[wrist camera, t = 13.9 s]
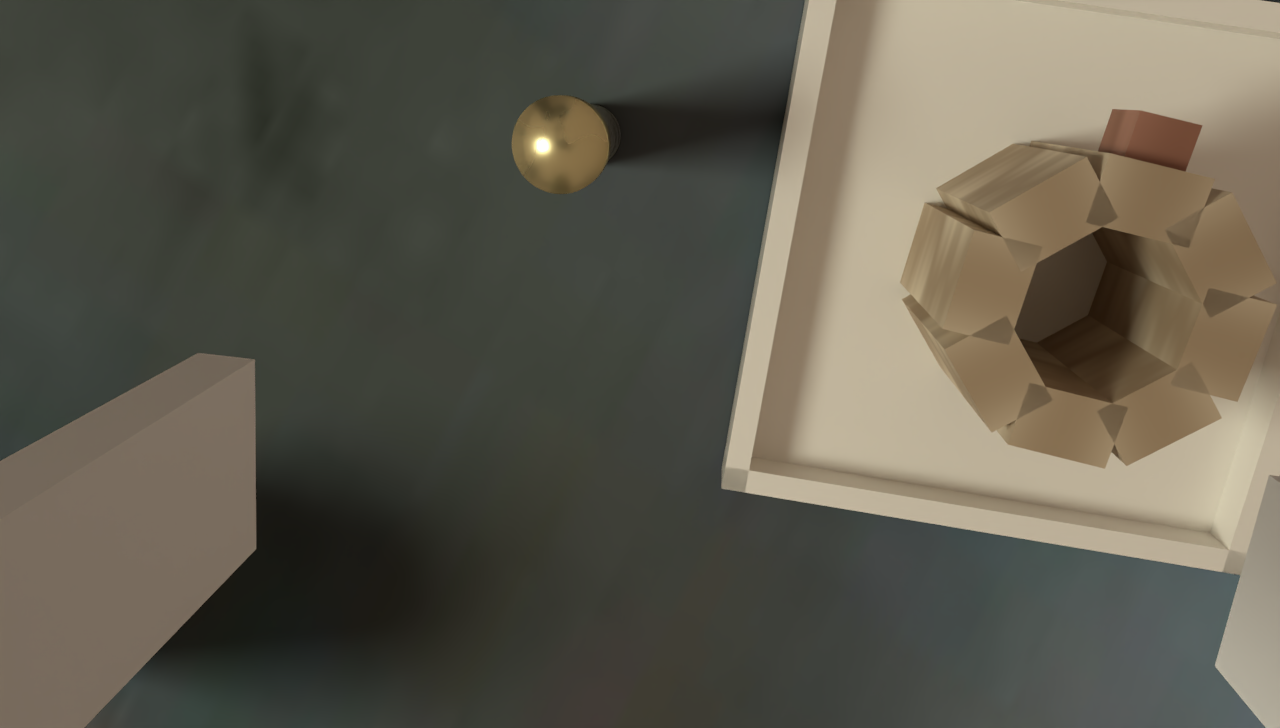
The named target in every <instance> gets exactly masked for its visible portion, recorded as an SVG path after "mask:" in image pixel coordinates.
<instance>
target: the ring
mask: <svg viewBox="0 0 1280 728" xmlns="http://www.w3.org/2000/svg"><path fill="white" fill-rule="evenodd" d="M1202 126H1203V125H1199V124H1195V123H1191V122H1187V121H1182V120H1178V119H1174V118H1170V117H1166V116H1162V115H1158V114H1154V113H1150V112H1145V111H1141V110H1121V109H1112V112H1111V115H1110V118H1109V121H1108V124H1107V126H1106V129H1105V132H1104V135H1103V138H1102V141H1101V144H1100V147H1099V149H1098V151H1093V150H1087V149H1080V148H1074V147H1068V146H1061V145H1055V144H1049V143H1042V142H1036V141H1031V143H1030V146H1023V145H1018V144H1011V145H1010V146H1008V147H1006V148H1005V149H1003V150H1001V151H999V152H998V153H996V154H994V155H993V156H991V157H989V158H987V159H986V160H984V161H982V162H980V163H979V164H977V165H975V166H974V167H972V168H970V169H968V170H967V171H965V172H963V173H962V174H960V175H958V176H956V177H955V178H953V179H951V180H949V181H948V182H946V183H944V184H943V185H941V186H939V187H937V188H936V189H937V191H938V193H939V195H940V197H941V198H942V200H943V202H944V204H945V206H946V207H947V208H944V207H940V206H936V205H932V204H928V203H924V206H923V209H922V212H921V216H920V219H919V222H918V225H917V229H916V232H915V235H914V238H913V242H912V245H911V248H910V251H909V255H908V258H907V261H906V264H905V268H904V271H903V274H902V277H901V281H900V283H901V284H902V285H903V286H904V287H905V289H906V290H907V291H908V292H909V293H910V295H908V296H907V297H905V298H903V299H902V301H903V302H904V304H905V306H906V308H907V310H908V311H909V313H910V315H911V317H912V318H913V320H914V322H915V324H916V325H917V327H918V329H919V331H920V332H921V334H922V336H923V338H924V339H925V341H926V343H927V345H928V346H929V348H930V350H931V352H932V353H933V355H934V357H935V359H936V361H937V362H938V364H939V366H940V367H941V369H942V370H943V371H944V373H945V374H946V375H947V376H948V378H949V379H950V380H951V381H952V383H953V384H954V385H955V387H956V388H957V389H958V390H959V392H960V393H961V394H962V395H963V397H964V398H965V399H966V401H967V402H968V403H969V404H970V406H971V407H972V408H973V410H974V411H975V412H976V413H977V415H978V416H979V417H980V418H981V420H982V421H983V422H984V424H985V425H986V426H987V427H988V429H989V430H990V431H991V432H994V431H996V430H997V432H998V433H999V434H1000V435H1001V437H1002V438H1003V439H1004V440H1005V442H1006V443H1007V444H1008V445H1011V446H1015V447H1019V448H1023V449H1027V450H1031V451H1035V452H1039V453H1043V454H1048V455H1052V456H1056V457H1060V458H1064V459H1068V460H1072V461H1076V462H1080V463H1084V464H1088V465H1092V466H1096V467H1100V468H1104V469H1105V467H1106V465H1107V462H1108V459H1109V457H1110V454H1111V452H1112V453H1113V454H1114V455H1115V456H1116V457H1117V458H1118V459H1119V460H1120V461H1122V462H1123V463H1124V464H1125V465H1126V466H1128V465H1130V464H1132V463H1134V462H1136V461H1138V460H1140V459H1142V458H1144V457H1146V456H1148V455H1150V454H1152V453H1154V452H1156V451H1158V450H1160V449H1162V448H1164V447H1166V446H1168V445H1170V444H1172V443H1174V442H1176V441H1178V440H1180V439H1182V438H1184V437H1186V436H1188V435H1190V434H1192V433H1194V432H1196V431H1198V430H1200V429H1202V428H1204V427H1206V426H1208V425H1210V424H1212V423H1214V422H1216V421H1218V420H1219V419H1221V418H1222V417H1221V415H1220V413H1219V411H1218V409H1217V407H1216V405H1215V404H1214V402H1213V400H1212V398H1211V396H1210V395H1212V396H1216V397H1220V398H1224V399H1228V400H1232V401H1236V402H1238V400H1239V397H1240V395H1241V392H1242V390H1243V387H1244V385H1245V383H1246V380H1247V378H1248V375H1249V373H1250V370H1251V368H1252V365H1253V363H1254V361H1255V358H1256V356H1257V353H1258V351H1259V348H1260V346H1261V343H1262V341H1263V339H1264V336H1265V334H1266V331H1267V329H1268V326H1269V324H1270V321H1271V319H1272V317H1273V314H1274V312H1275V309H1276V307H1277V304H1274V303H1272V302H1269V301H1267V300H1264V299H1261V298H1259V297H1256V296H1254V295H1255V294H1257V293H1259V292H1261V291H1263V290H1265V289H1267V288H1269V287H1271V286H1273V285H1274V284H1276V283H1277V282H1276V280H1275V278H1274V276H1273V274H1272V272H1271V270H1270V268H1269V266H1268V264H1267V262H1266V260H1265V258H1264V256H1263V254H1262V252H1261V250H1260V248H1259V246H1258V244H1257V241H1256V239H1255V237H1254V235H1253V233H1252V231H1251V229H1250V227H1249V225H1248V223H1247V221H1246V219H1245V217H1244V215H1243V213H1242V211H1241V209H1240V207H1239V205H1238V203H1237V201H1236V199H1235V197H1234V195H1233V193H1232V192H1228V191H1223V190H1218V189H1213V188H1212V186H1213V183H1214V181H1215V179H1214V178H1210V177H1205V176H1201V175H1197V174H1193V173H1189V172H1186V169H1187V166H1188V163H1189V161H1190V158H1191V155H1192V153H1193V150H1194V147H1195V145H1196V142H1197V139H1198V137H1199V134H1200V131H1201V128H1202ZM1091 233H1092V234H1093V236H1094V238H1095V240H1096V241H1097V243H1098V245H1099V247H1100V249H1101V251H1102V253H1103V255H1104V257H1105V259H1106V261H1107V263H1106V266H1105V269H1104V272H1103V275H1102V277H1101V280H1100V283H1099V286H1098V288H1097V291H1096V294H1095V297H1094V299H1093V302H1092V305H1091V308H1090V311H1089V313H1088V315H1087V316H1085V317H1084V318H1082V319H1080V320H1078V321H1076V322H1074V323H1072V324H1070V325H1069V326H1067V327H1065V328H1063V329H1061V330H1059V331H1057V332H1056V333H1054V334H1052V335H1050V336H1048V337H1046V338H1044V339H1043V340H1041V341H1039V342H1037V343H1036V342H1032V341H1028V340H1024V339H1020V338H1018V336H1017V334H1016V332H1015V330H1014V328H1015V326H1016V323H1017V320H1018V317H1019V314H1020V311H1021V308H1022V305H1023V302H1024V299H1025V296H1026V293H1027V290H1028V287H1029V285H1030V282H1031V279H1032V276H1033V273H1034V270H1035V267H1036V264H1037V263H1038V262H1040V261H1042V260H1044V259H1045V258H1047V257H1049V256H1051V255H1053V254H1054V253H1056V252H1058V251H1060V250H1062V249H1063V248H1065V247H1067V246H1069V245H1071V244H1072V243H1074V242H1076V241H1078V240H1080V239H1081V238H1083V237H1085V236H1087V235H1089V234H1091Z"/></svg>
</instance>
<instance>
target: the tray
mask: <svg viewBox="0 0 1280 728" xmlns="http://www.w3.org/2000/svg"><path fill="white" fill-rule="evenodd" d="M1112 109H1121V110H1141V111H1145V112H1150V113H1154V114H1158V115H1162V116H1166V117H1170V118H1174V119H1178V120H1182V121H1187V122H1191V123H1195V124H1199V125H1203V126H1202V128H1201V131H1200V134H1199V137H1198V139H1197V142H1196V145H1195V147H1194V150H1193V153H1192V155H1191V158H1190V161H1189V163H1188V166H1187V169H1186V172H1189V173H1193V174H1197V175H1201V176H1205V177H1210V178H1214V179H1215V181H1214V183H1213V186H1212V188H1213V189H1218V190H1223V191H1228V192H1232V193H1233V195H1234V197H1235V199H1236V201H1237V203H1238V205H1239V207H1240V209H1241V211H1242V213H1243V215H1244V217H1245V219H1246V221H1247V223H1248V225H1249V227H1250V229H1251V231H1252V233H1253V235H1254V237H1255V239H1256V241H1257V244H1258V246H1259V248H1260V250H1261V252H1262V254H1263V256H1264V258H1265V260H1266V262H1267V264H1268V266H1269V268H1270V270H1271V272H1272V274H1273V276H1274V278H1275V280H1276V282H1277V283H1276V284H1274V285H1273V286H1271V287H1269V288H1267V289H1265V290H1263V291H1261V292H1259V293H1257V294H1255V295H1254V296H1256V297H1259V298H1261V299H1264V300H1267V301H1269V302H1272V303H1274V304H1277V307H1276V309H1275V312H1274V314H1273V317H1272V319H1271V321H1270V324H1269V326H1268V329H1267V331H1266V334H1265V336H1264V339H1263V341H1262V343H1261V346H1260V348H1259V351H1258V353H1257V356H1256V358H1255V361H1254V363H1253V365H1252V368H1251V370H1250V373H1249V375H1248V378H1247V380H1246V383H1245V385H1244V387H1243V390H1242V392H1241V395H1240V397H1239V400H1238V402H1236V401H1232V400H1228V399H1224V398H1220V397H1216V396H1212V395H1210V396H1211V398H1212V400H1213V402H1214V404H1215V405H1216V407H1217V409H1218V411H1219V413H1220V415H1221V417H1222V418H1221V419H1219V420H1218V421H1216V422H1214V423H1212V424H1210V425H1208V426H1206V427H1204V428H1202V429H1200V430H1198V431H1196V432H1194V433H1192V434H1190V435H1188V436H1186V437H1184V438H1182V439H1180V440H1178V441H1176V442H1174V443H1172V444H1170V445H1168V446H1166V447H1164V448H1162V449H1160V450H1158V451H1156V452H1154V453H1152V454H1150V455H1148V456H1146V457H1144V458H1142V459H1140V460H1138V461H1136V462H1134V463H1132V464H1130V465H1128V466H1126V465H1125V464H1124V463H1123V462H1122V461H1120V460H1119V459H1118V458H1117V457H1116V456H1115V455H1114V454H1113V453H1112V452H1111V454H1110V457H1109V459H1108V462H1107V465H1106V467H1105V469H1104V468H1100V467H1096V466H1092V465H1088V464H1084V463H1080V462H1076V461H1072V460H1068V459H1064V458H1060V457H1056V456H1052V455H1048V454H1043V453H1039V452H1035V451H1031V450H1027V449H1023V448H1019V447H1015V446H1011V445H1008V444H1007V443H1006V442H1005V440H1004V439H1003V438H1002V437H1001V435H1000V434H999V433H998V432H997V430H996V431H994V432H991V431H990V430H989V429H988V427H987V426H986V425H985V424H984V422H983V421H982V420H981V418H980V417H979V416H978V415H977V413H976V412H975V411H974V410H973V408H972V407H971V406H970V404H969V403H968V402H967V401H966V399H965V398H964V397H963V395H962V394H961V393H960V392H959V390H958V389H957V388H956V387H955V385H954V384H953V383H952V381H951V380H950V379H949V378H948V376H947V375H946V374H945V373H944V371H943V370H942V369H941V367H940V366H939V364H938V362H937V361H936V359H935V357H934V355H933V353H932V352H931V350H930V348H929V346H928V345H927V343H926V341H925V339H924V338H923V336H922V334H921V332H920V331H919V329H918V327H917V325H916V324H915V322H914V320H913V318H912V317H911V315H910V313H909V311H908V310H907V308H906V306H905V304H904V302H903V301H902V299H903V298H905V297H907V296H908V295H910V293H909V292H908V291H907V290H906V289H905V287H904V286H903V285H902V284H901V283H900V281H901V277H902V274H903V271H904V268H905V264H906V261H907V258H908V255H909V251H910V248H911V245H912V242H913V238H914V235H915V232H916V229H917V225H918V222H919V219H920V216H921V212H922V209H923V206H924V203H928V204H932V205H936V206H940V207H944V208H947V207H946V206H945V204H944V202H943V200H942V198H941V197H940V195H939V193H938V191H937V189H936V188H937V187H939V186H941V185H943V184H944V183H946V182H948V181H949V180H951V179H953V178H955V177H956V176H958V175H960V174H962V173H963V172H965V171H967V170H968V169H970V168H972V167H974V166H975V165H977V164H979V163H980V162H982V161H984V160H986V159H987V158H989V157H991V156H993V155H994V154H996V153H998V152H999V151H1001V150H1003V149H1005V148H1006V147H1008V146H1010V145H1011V144H1018V145H1023V146H1030V143H1031V141H1036V142H1042V143H1049V144H1055V145H1061V146H1068V147H1074V148H1080V149H1087V150H1093V151H1098V149H1099V147H1100V144H1101V141H1102V138H1103V135H1104V132H1105V129H1106V126H1107V124H1108V121H1109V118H1110V115H1111V112H1112ZM1106 263H1107V261H1106V259H1105V257H1104V255H1103V253H1102V251H1101V249H1100V247H1099V245H1098V243H1097V241H1096V240H1095V238H1094V236H1093V234H1092V233H1091V234H1089V235H1087V236H1085V237H1083V238H1081V239H1080V240H1078V241H1076V242H1074V243H1072V244H1071V245H1069V246H1067V247H1065V248H1063V249H1062V250H1060V251H1058V252H1056V253H1054V254H1053V255H1051V256H1049V257H1047V258H1045V259H1044V260H1042V261H1040V262H1038V263H1037V264H1036V267H1035V270H1034V273H1033V276H1032V279H1031V282H1030V285H1029V287H1028V290H1027V293H1026V296H1025V299H1024V302H1023V305H1022V308H1021V311H1020V314H1019V317H1018V320H1017V323H1016V326H1015V328H1014V330H1015V332H1016V334H1017V336H1018V338H1020V339H1024V340H1028V341H1032V342H1036V343H1037V342H1039V341H1041V340H1043V339H1044V338H1046V337H1048V336H1050V335H1052V334H1054V333H1056V332H1057V331H1059V330H1061V329H1063V328H1065V327H1067V326H1069V325H1070V324H1072V323H1074V322H1076V321H1078V320H1080V319H1082V318H1084V317H1085V316H1087V315H1088V313H1089V311H1090V308H1091V305H1092V302H1093V299H1094V297H1095V294H1096V291H1097V288H1098V286H1099V283H1100V280H1101V277H1102V275H1103V272H1104V269H1105V266H1106ZM1269 475H1273V476H1280V3H1276V2H1269V1H1262V0H805V4H804V9H803V15H802V21H801V26H800V32H799V37H798V43H797V49H796V54H795V60H794V65H793V71H792V77H791V82H790V88H789V93H788V99H787V105H786V110H785V116H784V122H783V127H782V133H781V138H780V144H779V150H778V155H777V161H776V166H775V172H774V178H773V183H772V189H771V194H770V200H769V206H768V211H767V217H766V223H765V228H764V234H763V239H762V245H761V251H760V256H759V262H758V267H757V273H756V279H755V284H754V290H753V295H752V301H751V307H750V312H749V318H748V324H747V329H746V335H745V340H744V346H743V352H742V357H741V363H740V368H739V374H738V380H737V385H736V391H735V397H734V402H733V408H732V413H731V419H730V425H729V430H728V436H727V441H726V447H725V453H724V458H723V464H722V489H728V490H734V491H740V492H746V493H752V494H758V495H764V496H770V497H776V498H782V499H788V500H794V501H800V502H806V503H812V504H818V505H824V506H830V507H836V508H842V509H848V510H854V511H860V512H866V513H872V514H878V515H884V516H890V517H896V518H902V519H908V520H914V521H919V522H925V523H931V524H937V525H943V526H949V527H955V528H961V529H967V530H973V531H979V532H985V533H991V534H997V535H1003V536H1009V537H1015V538H1021V539H1027V540H1033V541H1039V542H1045V543H1051V544H1057V545H1063V546H1069V547H1075V548H1081V549H1087V550H1093V551H1099V552H1105V553H1111V554H1117V555H1123V556H1129V557H1135V558H1141V559H1147V560H1153V561H1159V562H1165V563H1171V564H1177V565H1183V566H1189V567H1195V568H1201V569H1207V570H1213V571H1219V572H1225V573H1231V574H1237V575H1241V572H1242V568H1243V565H1244V561H1245V558H1246V554H1247V551H1248V547H1249V544H1250V540H1251V537H1252V533H1253V530H1254V526H1255V523H1256V519H1257V516H1258V512H1259V508H1260V505H1261V501H1262V498H1263V494H1264V491H1265V487H1266V484H1267V480H1268V477H1269Z"/></svg>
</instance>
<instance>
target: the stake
mask: <svg viewBox="0 0 1280 728" xmlns="http://www.w3.org/2000/svg"><path fill="white" fill-rule="evenodd" d="M620 140H621V131H620V127H619V124H618V121H617V120H616V118H615V116H614V115H613V114H612V113H611V112H610V111H609V110H607V109H606V108H604V107H602V106H599V105H595V104H589V103H588V102H586V101H584V100H582V99H580V98H577V97H573V96H566V95H557V96H549V97H545V98H542V99H540V100H538V101H536V102H534V103H533V104H531V105H530V106H529V107H528V108H527V109H525V111H524V112H523V113H522V114H521V116H520V117H519V119H518V121H517V123H516V125H515V128H514V131H513V136H512V151H513V156H514V159H515V162H516V165H517V167H518V169H519V170H520V172H521V173H522V175H523V176H524V177H525V178H526V179H527V180H528V181H529V182H530V183H531V184H533V185H534V186H535V187H537V188H539V189H541V190H543V191H546V192H549V193H554V194H567V193H572V192H576V191H578V190H580V189H583V188H584V187H586V186H587V185H589V184H590V183H592V182H593V181H594V180H595V179H597V178H598V176H599V175H600V174H601V173H602V171H603V170H604V168H605V166H606V164H607V162H608V160H609V159H611V158H612V157H613V155H614V154H615V153H616V151H617V149H618V147H619V144H620Z"/></svg>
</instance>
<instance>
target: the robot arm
mask: <svg viewBox="0 0 1280 728" xmlns="http://www.w3.org/2000/svg"><path fill="white" fill-rule="evenodd" d="M255 550H256V450H255V359H247V358H238V357H229V356H220V355H212V354H203V353H197V354H195V355H194V356H192V357H190V358H188V359H186V360H184V361H183V362H181V363H179V364H177V365H175V366H173V367H172V368H170V369H168V370H166V371H164V372H162V373H161V374H159V375H157V376H155V377H153V378H151V379H150V380H148V381H146V382H144V383H142V384H141V385H139V386H137V387H135V388H133V389H131V390H130V391H128V392H126V393H124V394H122V395H120V396H119V397H117V398H115V399H113V400H111V401H109V402H108V403H106V404H104V405H102V406H100V407H98V408H97V409H95V410H93V411H91V412H89V413H87V414H86V415H84V416H82V417H80V418H78V419H76V420H75V421H73V422H71V423H69V424H67V425H65V426H64V427H62V428H60V429H58V430H56V431H54V432H53V433H51V434H49V435H47V436H45V437H44V438H42V439H40V440H38V441H36V442H34V443H33V444H31V445H29V446H27V447H25V448H23V449H22V450H20V451H18V452H16V453H14V454H12V455H11V456H9V457H7V458H5V459H3V460H1V461H0V728H84V727H85V726H86V725H87V724H88V723H89V722H90V721H91V720H92V719H93V718H94V717H95V716H96V715H97V714H98V713H99V712H100V710H101V709H102V708H103V707H104V706H105V705H106V704H107V703H108V702H109V701H110V700H111V699H112V698H113V697H114V696H115V695H116V694H117V693H118V692H119V691H120V690H121V689H122V688H123V687H124V686H125V685H126V684H127V682H128V681H129V680H130V679H131V678H132V677H133V676H134V675H135V674H136V673H137V672H138V671H139V670H140V669H141V668H142V667H143V666H144V665H145V664H146V663H147V662H148V661H149V660H150V659H151V658H152V657H153V655H154V654H155V653H156V652H157V651H158V650H159V649H160V648H161V647H162V646H163V645H164V644H165V643H166V642H167V641H168V640H169V639H170V638H171V637H172V636H173V635H174V634H175V633H176V632H177V631H178V630H179V629H180V627H181V626H182V625H183V624H184V623H185V622H186V621H187V620H188V619H189V618H190V617H191V616H192V615H193V614H194V613H195V612H196V611H197V610H198V609H199V608H200V607H201V606H202V605H203V604H204V603H205V602H206V601H207V599H208V598H209V597H210V596H211V595H212V594H213V593H214V592H215V591H216V590H217V589H218V588H219V587H220V586H221V585H222V584H223V583H224V582H225V581H226V580H227V579H228V578H229V577H230V576H231V575H232V574H233V573H234V571H235V570H236V569H237V568H238V567H239V566H240V565H241V564H242V563H243V562H244V561H245V560H246V559H247V558H248V557H249V556H250V555H251V554H252V553H253V552H254V551H255ZM1215 667H1216V668H1217V669H1218V670H1219V672H1220V673H1221V674H1222V675H1223V676H1224V678H1225V679H1226V680H1227V681H1228V683H1229V684H1230V685H1231V686H1232V687H1233V689H1234V690H1235V691H1236V692H1237V693H1238V695H1239V696H1240V697H1241V698H1242V699H1243V701H1244V702H1245V703H1246V704H1247V706H1248V707H1249V708H1250V709H1251V710H1252V712H1253V713H1254V714H1255V715H1256V716H1257V718H1258V719H1259V720H1260V721H1261V722H1262V724H1263V725H1264V726H1265V727H1266V728H1280V476H1273V475H1269V477H1268V480H1267V484H1266V487H1265V491H1264V494H1263V498H1262V501H1261V505H1260V508H1259V512H1258V516H1257V519H1256V523H1255V526H1254V530H1253V533H1252V537H1251V540H1250V544H1249V547H1248V551H1247V554H1246V558H1245V561H1244V565H1243V568H1242V572H1241V575H1240V579H1239V583H1238V586H1237V590H1236V593H1235V597H1234V600H1233V604H1232V607H1231V611H1230V614H1229V618H1228V621H1227V625H1226V628H1225V632H1224V635H1223V639H1222V642H1221V646H1220V650H1219V653H1218V657H1217V660H1216V664H1215Z"/></svg>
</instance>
